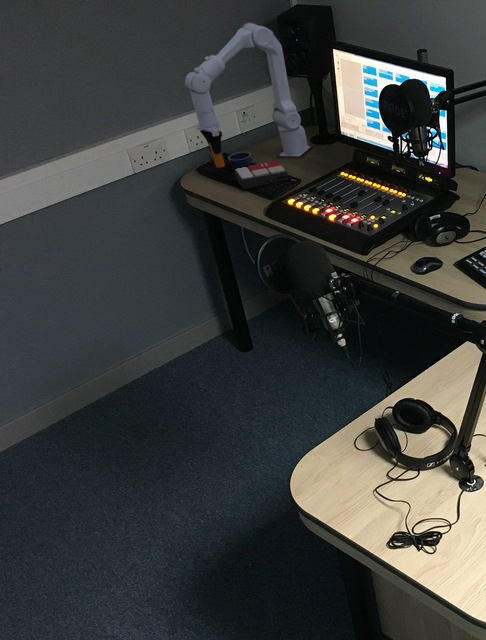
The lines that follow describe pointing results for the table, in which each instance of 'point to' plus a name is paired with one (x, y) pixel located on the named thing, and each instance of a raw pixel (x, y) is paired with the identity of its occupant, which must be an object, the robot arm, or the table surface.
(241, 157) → the dark blue round bowl
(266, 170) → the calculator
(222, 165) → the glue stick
